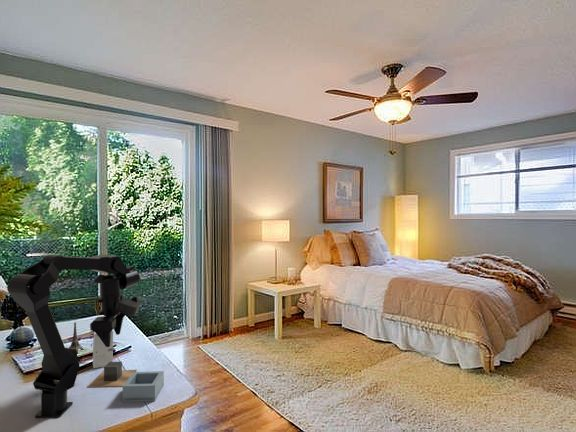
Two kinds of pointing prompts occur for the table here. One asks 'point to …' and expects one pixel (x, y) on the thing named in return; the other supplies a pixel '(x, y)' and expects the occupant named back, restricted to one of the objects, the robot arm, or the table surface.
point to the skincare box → (101, 352)
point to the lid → (112, 376)
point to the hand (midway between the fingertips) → (113, 340)
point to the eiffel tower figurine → (75, 341)
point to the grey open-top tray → (143, 386)
